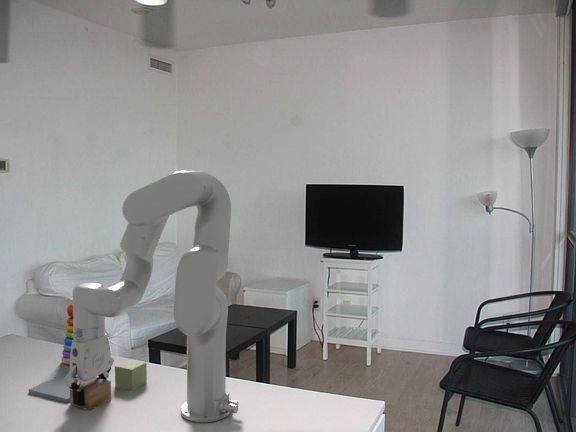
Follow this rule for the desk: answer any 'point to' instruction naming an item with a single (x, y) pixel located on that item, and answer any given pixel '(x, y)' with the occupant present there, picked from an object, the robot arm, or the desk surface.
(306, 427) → the desk surface
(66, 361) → the stacking toy
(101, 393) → the walnut block
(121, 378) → the olive block
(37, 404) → the desk surface
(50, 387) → the baseplate
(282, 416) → the desk surface
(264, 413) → the desk surface
